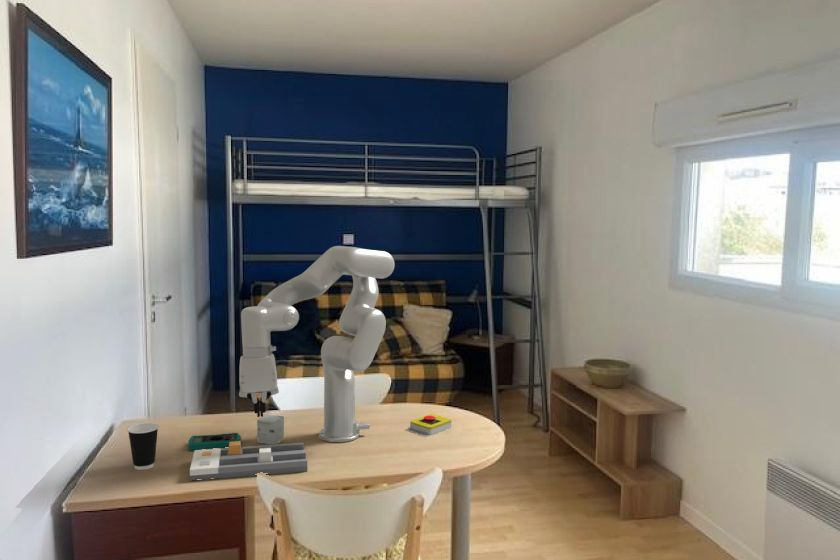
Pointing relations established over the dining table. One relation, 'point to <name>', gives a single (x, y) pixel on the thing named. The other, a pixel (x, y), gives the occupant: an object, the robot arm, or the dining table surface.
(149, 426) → the dixie cup
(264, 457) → the tab white
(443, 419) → the emergency button
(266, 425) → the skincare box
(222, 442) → the digital multimeter
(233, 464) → the switch panel
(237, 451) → the tab orange
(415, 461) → the dining table surface
